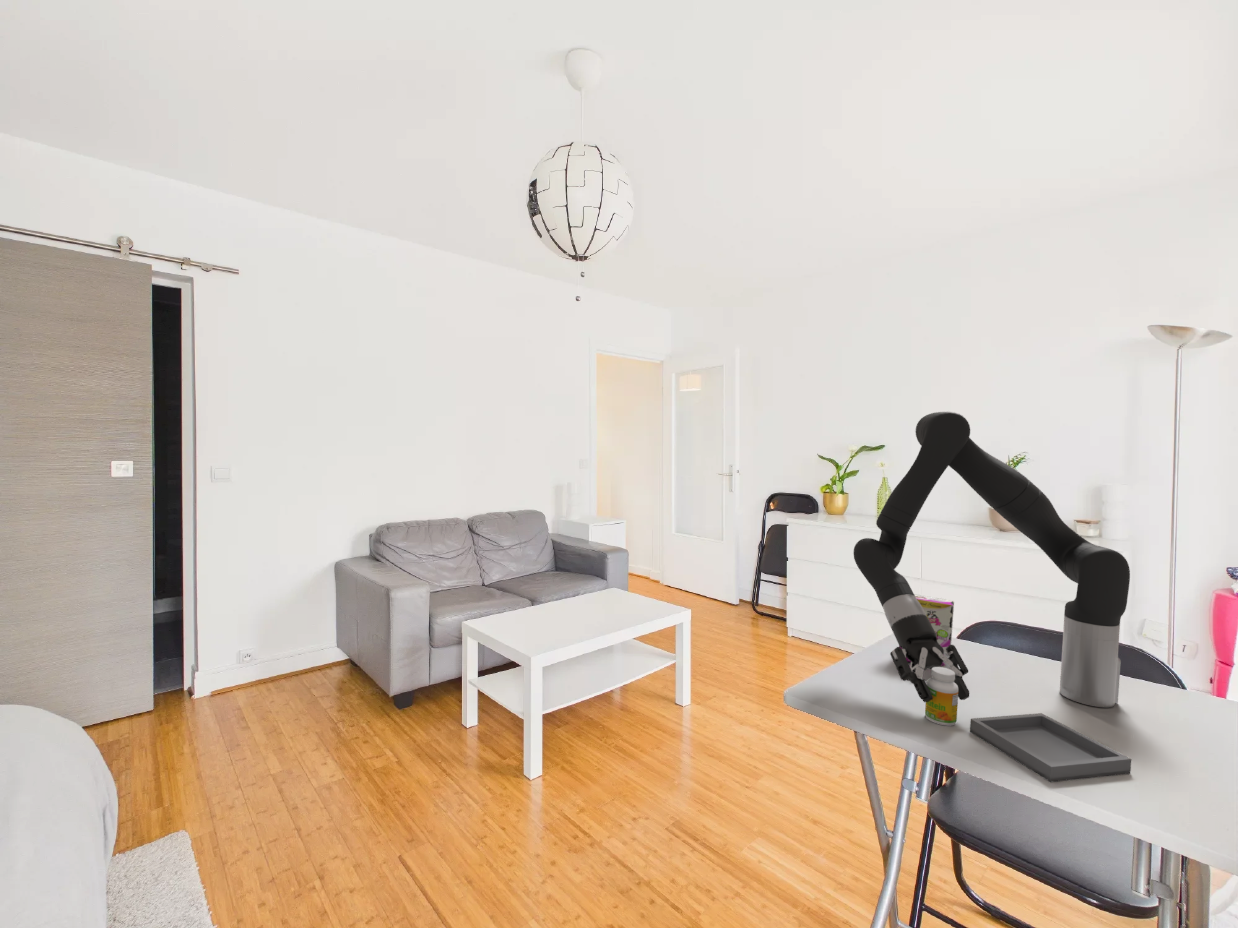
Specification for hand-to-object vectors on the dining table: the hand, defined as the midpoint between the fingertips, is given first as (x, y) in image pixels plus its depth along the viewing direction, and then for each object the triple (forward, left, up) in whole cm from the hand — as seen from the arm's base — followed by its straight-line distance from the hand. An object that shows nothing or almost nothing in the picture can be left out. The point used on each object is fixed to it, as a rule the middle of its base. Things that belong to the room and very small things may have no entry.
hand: (947, 699), depth 109 cm
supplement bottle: (0, -1, -5) cm, 5 cm away
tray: (-10, +12, -5) cm, 16 cm away
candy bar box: (-18, -27, -5) cm, 33 cm away
